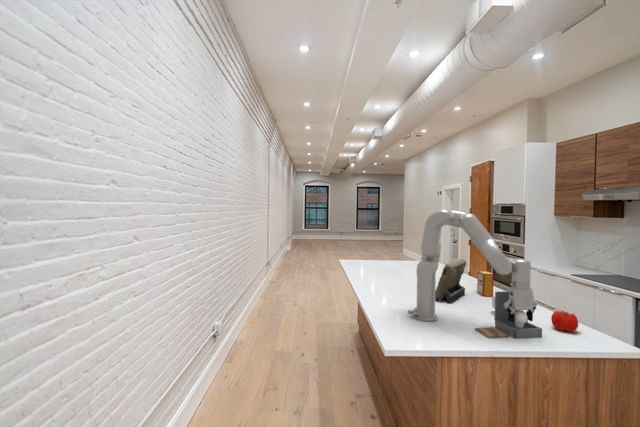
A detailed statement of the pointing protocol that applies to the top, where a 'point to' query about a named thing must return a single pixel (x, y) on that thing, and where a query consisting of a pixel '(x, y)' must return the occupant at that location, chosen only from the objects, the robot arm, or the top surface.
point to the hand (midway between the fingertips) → (520, 320)
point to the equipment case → (508, 326)
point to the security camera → (493, 305)
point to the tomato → (564, 321)
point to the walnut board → (491, 332)
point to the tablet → (451, 282)
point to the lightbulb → (520, 319)
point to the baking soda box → (485, 283)
